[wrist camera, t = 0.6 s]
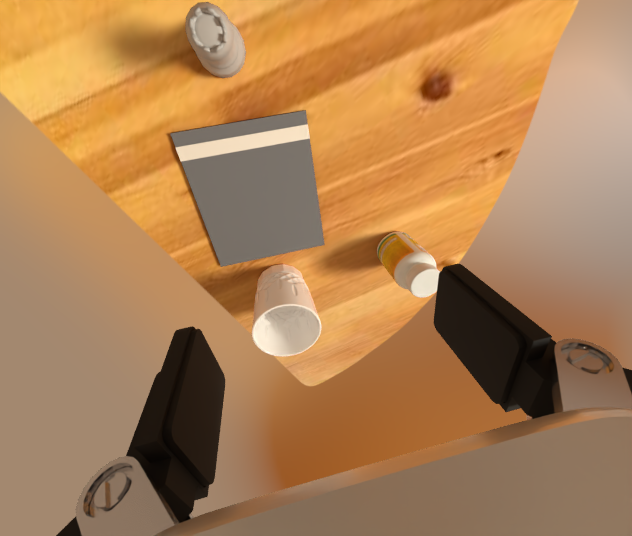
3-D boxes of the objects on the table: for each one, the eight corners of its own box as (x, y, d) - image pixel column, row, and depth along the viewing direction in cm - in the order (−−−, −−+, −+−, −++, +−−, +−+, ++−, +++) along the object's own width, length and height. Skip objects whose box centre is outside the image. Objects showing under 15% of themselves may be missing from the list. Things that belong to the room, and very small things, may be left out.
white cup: (241, 287, 39) (236, 337, 30) (279, 249, 37) (285, 292, 29) (282, 313, 43) (289, 365, 34) (319, 280, 41) (335, 326, 32)
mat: (171, 133, 28) (170, 133, 28) (305, 110, 29) (305, 110, 29) (221, 265, 37) (221, 267, 36) (323, 243, 38) (324, 245, 37)
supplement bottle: (413, 229, 39) (454, 262, 31) (406, 262, 42) (442, 300, 34) (378, 231, 38) (410, 265, 30) (373, 264, 41) (401, 304, 33)
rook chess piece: (209, 84, 27) (193, 78, 20) (185, 26, 24) (158, -3, 18) (253, 70, 27) (251, 58, 20) (233, 10, 24) (224, -26, 18)
